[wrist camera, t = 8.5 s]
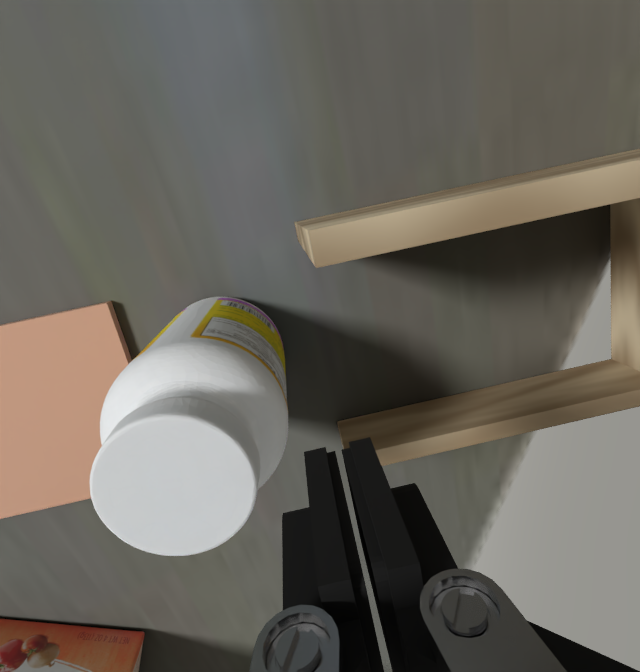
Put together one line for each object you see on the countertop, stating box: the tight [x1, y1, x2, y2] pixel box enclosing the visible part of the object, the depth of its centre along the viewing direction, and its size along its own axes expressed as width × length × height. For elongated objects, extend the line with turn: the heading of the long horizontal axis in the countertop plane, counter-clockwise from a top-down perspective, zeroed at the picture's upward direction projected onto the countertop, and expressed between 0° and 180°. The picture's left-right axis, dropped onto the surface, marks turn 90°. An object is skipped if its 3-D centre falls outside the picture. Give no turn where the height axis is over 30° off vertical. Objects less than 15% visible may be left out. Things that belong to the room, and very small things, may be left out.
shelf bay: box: [294, 149, 640, 466], centre depth 19 cm, size 13×18×12 cm
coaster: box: [0, 301, 132, 519], centre depth 24 cm, size 11×11×1 cm
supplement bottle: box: [89, 297, 288, 556], centre depth 18 cm, size 7×7×13 cm
